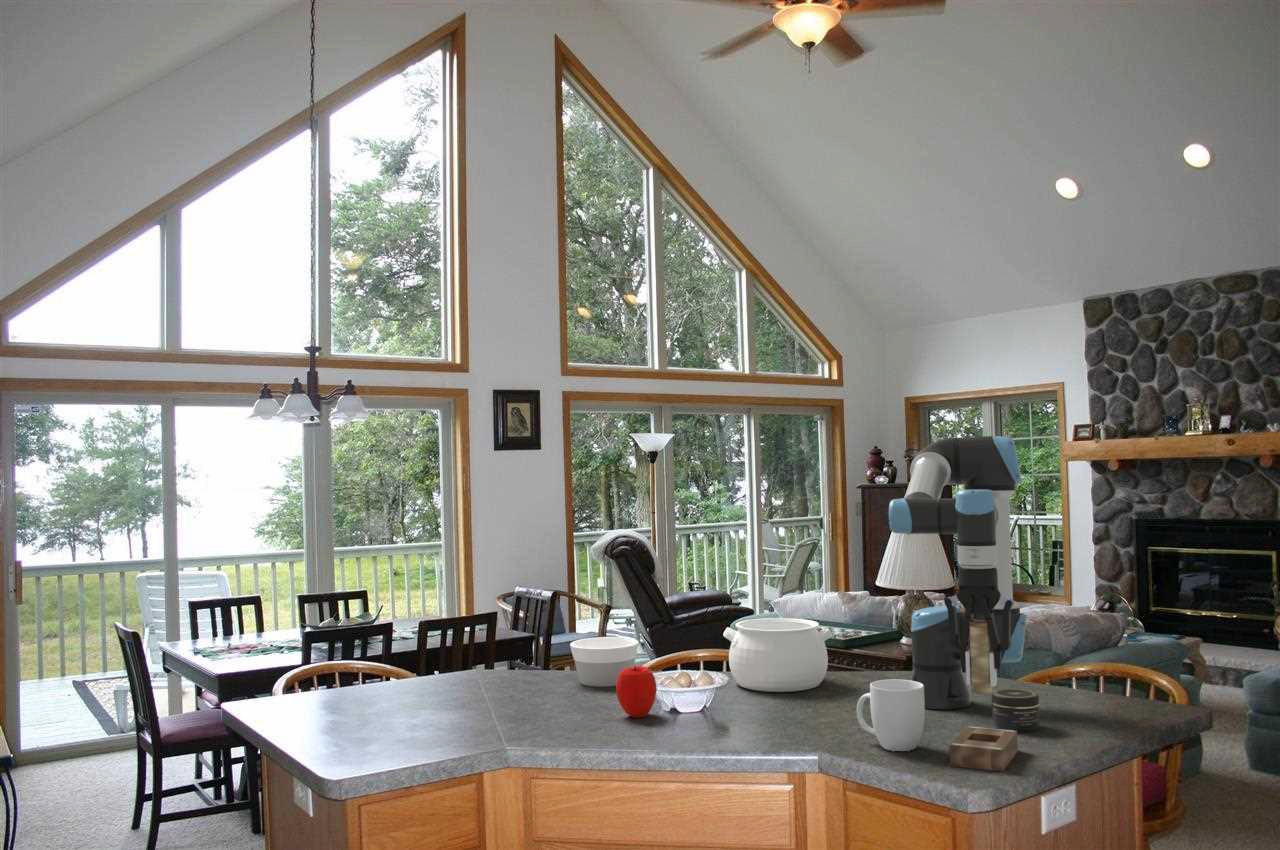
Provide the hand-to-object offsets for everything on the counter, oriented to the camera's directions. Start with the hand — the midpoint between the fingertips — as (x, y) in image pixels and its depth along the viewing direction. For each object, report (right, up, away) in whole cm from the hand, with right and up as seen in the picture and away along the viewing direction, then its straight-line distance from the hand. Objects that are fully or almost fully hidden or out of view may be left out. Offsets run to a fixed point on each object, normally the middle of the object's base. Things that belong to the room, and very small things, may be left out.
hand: (981, 684), depth 213 cm
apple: (-69, -18, +43) cm, 83 cm away
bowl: (-78, -20, +84) cm, 116 cm away
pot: (-31, -18, +74) cm, 82 cm away
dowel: (0, -2, 0) cm, 2 cm away
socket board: (0, -15, 0) cm, 15 cm away
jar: (+15, -15, +23) cm, 31 cm away
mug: (-15, -16, +10) cm, 24 cm away
